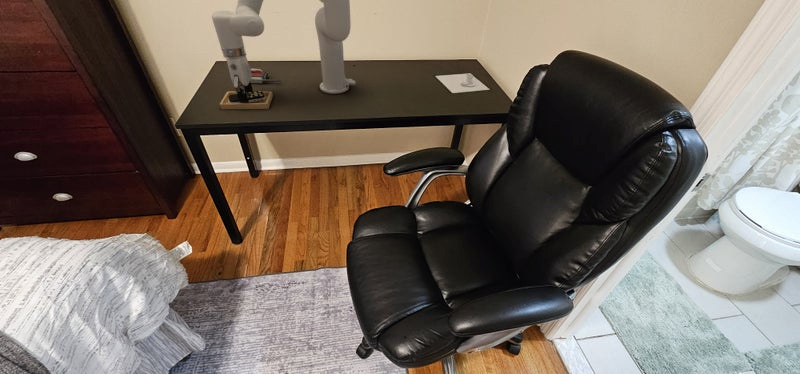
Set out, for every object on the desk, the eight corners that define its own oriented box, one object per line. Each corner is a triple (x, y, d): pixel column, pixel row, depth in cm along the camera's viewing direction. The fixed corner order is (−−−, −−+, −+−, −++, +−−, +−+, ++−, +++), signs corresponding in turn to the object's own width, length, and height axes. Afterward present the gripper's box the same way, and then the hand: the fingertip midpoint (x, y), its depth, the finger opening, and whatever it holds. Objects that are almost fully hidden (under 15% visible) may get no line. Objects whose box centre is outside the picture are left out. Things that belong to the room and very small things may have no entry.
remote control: (229, 98, 122) (227, 94, 121) (263, 94, 127) (262, 89, 126) (230, 105, 118) (229, 100, 117) (266, 100, 123) (264, 95, 122)
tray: (272, 96, 129) (271, 91, 128) (268, 108, 121) (267, 103, 119) (228, 96, 126) (227, 91, 125) (221, 109, 118) (219, 104, 117)
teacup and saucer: (463, 87, 147) (464, 79, 145) (455, 81, 153) (457, 72, 150) (479, 86, 150) (481, 78, 147) (471, 79, 155) (473, 71, 153)
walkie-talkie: (233, 83, 135) (280, 84, 137) (230, 73, 132) (278, 75, 134) (239, 75, 142) (284, 77, 144) (236, 65, 139) (282, 67, 141)
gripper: (239, 60, 105) (252, 108, 116) (250, 43, 118) (261, 88, 129) (215, 59, 104) (231, 108, 115) (229, 43, 116) (241, 88, 128)
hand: (246, 97), depth 122 cm, fingers closed on remote control, 7 cm apart
